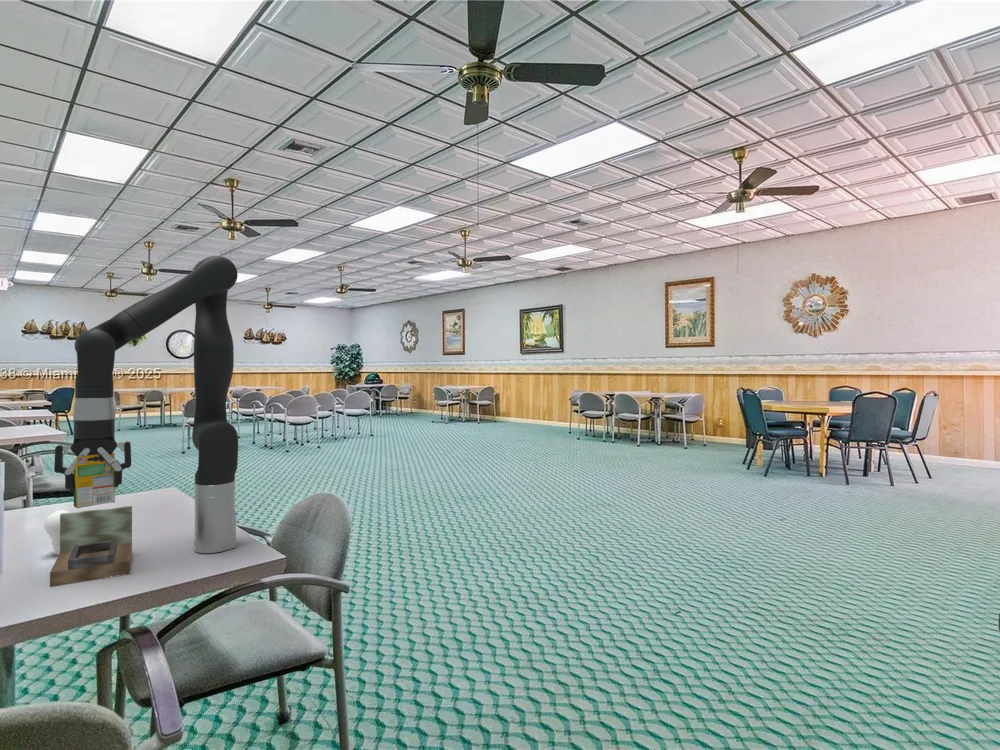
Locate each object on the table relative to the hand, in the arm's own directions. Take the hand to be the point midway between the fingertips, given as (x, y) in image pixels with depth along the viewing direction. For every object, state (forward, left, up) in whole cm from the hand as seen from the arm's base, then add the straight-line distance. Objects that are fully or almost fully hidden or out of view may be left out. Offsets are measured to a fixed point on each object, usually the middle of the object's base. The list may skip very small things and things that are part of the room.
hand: (94, 488), depth 124 cm
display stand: (0, -2, -19) cm, 19 cm away
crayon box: (0, 0, -4) cm, 4 cm away
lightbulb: (+8, -18, -19) cm, 27 cm away
